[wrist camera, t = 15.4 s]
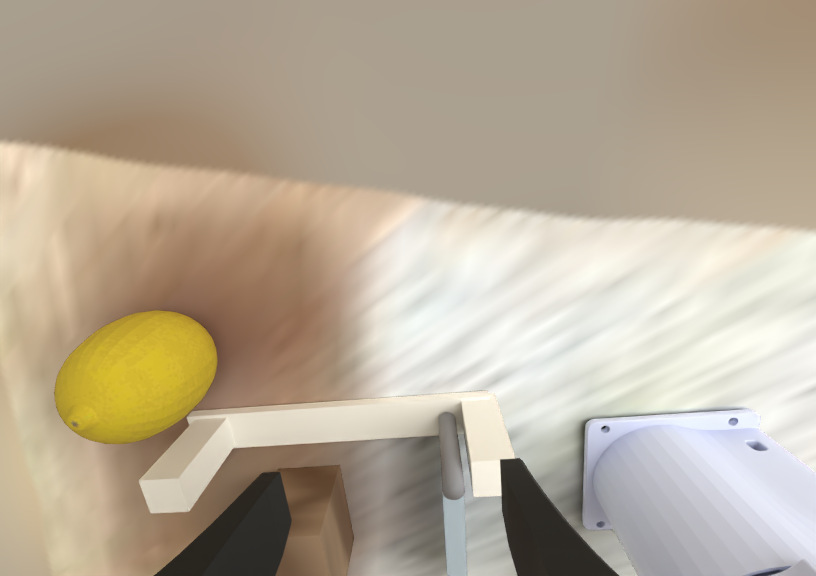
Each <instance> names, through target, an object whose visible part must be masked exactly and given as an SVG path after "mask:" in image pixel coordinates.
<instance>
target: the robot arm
mask: <svg viewBox="0 0 816 576" xmlns="http://www.w3.org/2000/svg"><path fill="white" fill-rule="evenodd" d="M731 418H732V420H730V419H731ZM729 420H730V421H729ZM760 421H761V416H760V415H759V414H758V413H757V412H755V411H754V410H751V409H744V410H728V411H712V412H696V413H680V414H664V415H649V416H633V417H617V418H601V419H592V420H589V421H588V422H587V423H586V425H585V447H584V479H583V512H582V521H583V524H584V526H585V528H586V529H588V530H611V529H613V530H614V531H615V533H616V535H617V537H618V539H619V541H620V543H621V545H622V547H623V548H624V550H625V552H626V554H627V556H628V558H629V560H630V562H631V564H632V565H633V567H634V569H635V571H636V573H637V575H638V576H816V472H815V471H813V470H812V469H811V468H809V467H808V466H807V465H806V464H804V463H803V462H802V461H800V460H799V459H798V458H796V457H795V456H794V455H793V454H791V453H790V452H789V451H787V450H786V449H785V448H783V447H782V446H781V445H780V444H778V443H777V442H776V441H774V440H773V439H772V438H770V437H769V436H768V435H766V434H765V433H764V432H763V431H761V430H760V429H759V427H760ZM603 426H606V428H604V429H601V428H602V427H603ZM500 472H501V495H502V512H503V517H504V523H505V528H506V533H507V538H508V543H509V548H510V551H511V555H512V558H513V561H514V565H515V568H516V572H517V575H518V576H619V575H618V574H617V573H616V572H615V571H614V570H613V569H612V568H610V567H609V566H608V565H607V564H606V563H605V562H604V561H603V560H602V559H601V558H600V557H599V556H598V555H597V554H596V553H595V551H594V550H593V549H592V548H591V547H590V546H589V545H588V544H587V543H586V542H585V541H584V540H583V539H582V538H581V536H580V535H579V534H578V533H577V532H576V531H575V530H574V529H573V527H572V526H571V525H570V524H569V523H568V522H567V520H566V519H565V518H564V517H563V516H562V514H561V513H560V512H559V511H558V509H557V508H556V507H555V506H554V504H553V503H552V502H551V501H550V499H549V498H548V497H547V495H546V494H545V493H544V492H543V490H542V489H541V487H540V486H539V485H538V483H537V482H536V480H535V479H534V478H533V476H532V475H531V473H530V472H529V470H528V469H527V467H526V465H525V464H524V462H523V461H522V460H521V459H520V458H516V459H500ZM599 521H600V522H599ZM291 522H292V519H291V515H290V511H289V506H288V502H287V498H286V494H285V490H284V486H283V482H282V478H281V473H280V472H270V473H262V474H261V475H260V476H259V477H258V478H257V479H256V480H255V481H254V482H253V483H252V484H251V485H250V486H249V487H248V488H247V489H246V490H245V491H244V492H243V493H242V494H241V495H240V496H239V497H238V498H237V499H236V500H235V501H234V502H233V503H232V504H231V505H230V506H229V507H228V508H227V509H226V510H225V511H224V512H223V513H222V514H221V515H220V516H219V517H218V518H217V519H216V520H215V521H214V522H213V523H212V524H211V525H210V526H209V527H208V528H207V529H206V530H205V531H204V532H203V533H201V534H200V535H199V536H198V537H197V538H196V539H195V540H194V541H193V542H192V543H191V544H190V545H189V546H188V547H186V548H185V549H184V550H183V551H182V552H181V553H180V554H179V555H178V556H177V557H175V558H174V559H173V560H172V561H171V562H170V563H168V564H167V565H166V566H165V567H164V568H163V569H161V570H160V571H159V572H158V573H157V574H155V575H154V576H275V575H276V573H277V570H278V567H279V565H280V562H281V559H282V557H283V553H284V550H285V546H286V542H287V539H288V535H289V530H290V526H291Z"/></svg>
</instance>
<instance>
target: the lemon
mask: <svg viewBox="0 0 816 576" xmlns="http://www.w3.org/2000/svg"><path fill="white" fill-rule="evenodd" d="M216 368H217V352H216V347H215V345H214V342H213V339H212V337H211V336H210V335H209V333H208V332H207V330H206V329H205V328H204V327H203V326H202V325H200V324H199V323H198V322H196V321H195V320H193V319H192V318H190V317H188V316H185V315H182V314H180V313H176V312H170V311H160V310H156V311H148V312H140V313H135V314H131V315H129V316H126V317H123V318H121V319H119V320H116V321H114V322H112V323H110V324H107V325H106V326H104V327H102V328H100V329H99V330H98V331H96V332H95V333H93V334H92V335H91V336H90V337H88V338H87V339H86V340H85V341H84V342H83V343H82V344H81V345H79V346H78V347H77V348H76V349H75V350H74V351H73V352H72V353H71V354H70V355H69V357H68V358H67V359H66V361H65V362H64V364H63V366H62V368H61V369H60V371H59V374H58V376H57V379H56V385H55V392H54V394H55V402H56V407H57V410H58V412H59V415H60V417H61V418H62V420H63V421H64V423H65V424H66V425H67V426H68V427H69V428H70V429H71V430H72V431H74V432H75V433H77V434H78V435H80V436H82V437H84V438H86V439H88V440H91V441H95V442H100V443H105V444H126V443H132V442H136V441H141V440H144V439H147V438H150V437H152V436H154V435H156V434H158V433H159V432H161V431H163V430H165V429H167V428H169V427H170V426H172V425H174V424H175V423H177V422H178V421H180V420H181V419H182V418H184V417H185V416H186V415H187V414H188V413H189V412H190V411H191V410H192V409H193V408H194V407H195V406H196V405H197V404H198V403H199V402H200V401H201V400H202V399H203V397H204V396H205V394H206V393H207V391H208V389H209V387H210V385H211V383H212V381H213V379H214V377H215V373H216Z"/></svg>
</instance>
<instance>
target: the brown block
mask: <svg viewBox="0 0 816 576" xmlns="http://www.w3.org/2000/svg"><path fill="white" fill-rule="evenodd" d="M277 472H280V473H281V478H282V482H283V486H284V490H285V494H286V498H287V502H288V506H289V511H290V515H291V519H292V522H291V526H290V530H289V535H288V539H287V542H286V546H285V550H284V553H283V557H282V559H281V562H280V565H279V567H278V570H277V573H276V575H275V576H347V572H348V567H349V562H350V556H351V551H352V546H353V541H354V535H353V530H352V525H351V520H350V515H349V510H348V505H347V500H346V495H345V489H344V484H343V479H342V474H341V469H340V465H334V466H318V467H302V468H287V469H278V471H277Z"/></svg>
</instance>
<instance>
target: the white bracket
mask: <svg viewBox="0 0 816 576" xmlns="http://www.w3.org/2000/svg"><path fill="white" fill-rule="evenodd" d="M444 412H450V413H452V414H454V416H455V418H456V425H457V433H458V434H464V438H465V444H466V451H467V457H468V464H469V471H470V477H471V484H472V491H473V497H488V496H502V495H501V472H500V459H516V458H515V455H514V452H513V449H512V446H511V442H510V439H509V436H508V433H507V430H506V427H505V424H504V420H503V417H502V414H501V411H500V408H499V405H498V402H497V399H496V395H495V393H488V391H474V392H460V393H445V394H431V395H416V396H402V397H387V398H373V399H358V400H344V401H330V402H315V403H301V404H286V405H272V406H257V407H243V408H228V409H214V410H200V411H192V412H191V413H190V414H189V415H188V416H187V420H188V424H189V427H188V428H187V429H186V430H185V431H184V432H183V433H182V434H181V435H180V436H179V437H178V438H177V440H176V441H175V442H174V443H173V444H172V445H171V446H170V447H169V448H168V449H167V450H166V451H165V453H164V454H163V455H162V456H161V457H160V458H159V459H158V460H157V461H156V462H155V463H154V464H153V465H152V467H151V468H150V469H149V470H148V471H147V472H146V473H145V474H144V475H143V476H142V477H141V478H140V480H139V484H140V486H141V489H142V492H143V494H144V497H145V500H146V502H147V505H148V508H149V510H150V513H170V512H189V511H190V510H191V508H192V507H193V505H194V504H195V502H196V501H197V500H198V498H199V497H200V495H201V494H202V492H203V491H204V489H205V488H206V487H207V485H208V484H209V482H210V481H211V479H212V478H213V476H214V475H215V474H216V472H217V471H218V469H219V468H220V466H221V465H222V463H223V462H224V461H225V459H226V458H227V456H228V455H229V453H230V452H231V450H232V449H233V448H243V447H259V446H276V445H292V444H308V443H324V442H340V441H356V440H373V439H389V438H405V437H421V436H437V435H439V423H438V418H439V416H440V414H442V413H444Z"/></svg>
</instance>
